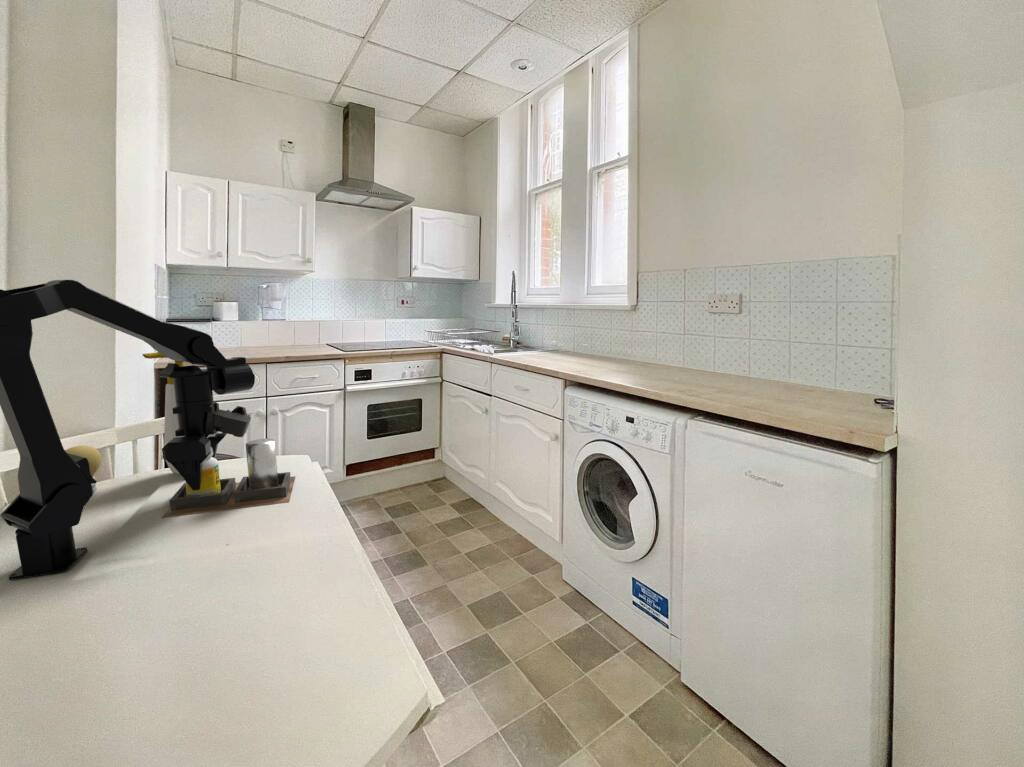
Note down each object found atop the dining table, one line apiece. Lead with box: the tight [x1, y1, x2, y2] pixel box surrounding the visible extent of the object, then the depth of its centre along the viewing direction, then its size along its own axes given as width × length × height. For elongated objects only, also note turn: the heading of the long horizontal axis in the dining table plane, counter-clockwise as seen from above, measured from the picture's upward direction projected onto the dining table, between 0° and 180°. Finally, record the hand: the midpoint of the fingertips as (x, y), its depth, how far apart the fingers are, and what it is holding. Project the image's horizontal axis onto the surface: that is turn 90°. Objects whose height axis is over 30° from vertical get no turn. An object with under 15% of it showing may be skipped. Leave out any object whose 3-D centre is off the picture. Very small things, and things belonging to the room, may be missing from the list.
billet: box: [245, 438, 279, 490], centre depth 91 cm, size 5×5×10 cm
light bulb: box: [64, 445, 103, 494], centre depth 93 cm, size 6×6×10 cm
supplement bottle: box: [184, 447, 221, 497], centre depth 87 cm, size 5×5×10 cm
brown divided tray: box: [160, 471, 296, 519], centre depth 90 cm, size 14×20×4 cm
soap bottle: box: [141, 351, 185, 476], centre depth 101 cm, size 13×10×29 cm
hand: (203, 480), depth 88 cm, fingers open, 9 cm apart
